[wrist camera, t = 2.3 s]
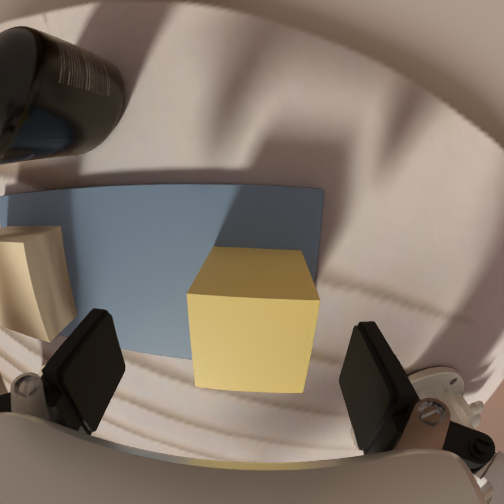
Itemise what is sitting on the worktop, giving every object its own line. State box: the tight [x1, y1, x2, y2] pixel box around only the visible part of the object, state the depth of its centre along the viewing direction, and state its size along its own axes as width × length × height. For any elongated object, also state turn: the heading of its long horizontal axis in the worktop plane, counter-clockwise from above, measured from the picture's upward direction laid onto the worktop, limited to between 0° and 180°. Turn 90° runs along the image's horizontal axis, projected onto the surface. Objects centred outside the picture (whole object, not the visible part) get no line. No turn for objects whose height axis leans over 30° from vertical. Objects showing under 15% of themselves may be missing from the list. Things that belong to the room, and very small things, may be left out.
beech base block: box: [0, 226, 78, 343], centre depth 15 cm, size 7×7×4 cm
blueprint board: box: [0, 183, 324, 360], centre depth 17 cm, size 25×12×1 cm, turn 88°
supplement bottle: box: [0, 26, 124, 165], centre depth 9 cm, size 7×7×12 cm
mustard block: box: [187, 246, 320, 393], centre depth 14 cm, size 5×5×6 cm
